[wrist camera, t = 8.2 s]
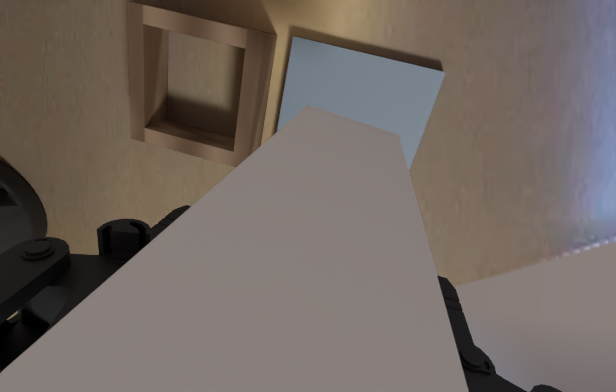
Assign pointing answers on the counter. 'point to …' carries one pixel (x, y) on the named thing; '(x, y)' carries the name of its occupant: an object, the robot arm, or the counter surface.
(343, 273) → the milk
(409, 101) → the board
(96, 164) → the counter surface
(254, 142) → the frame
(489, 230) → the counter surface
